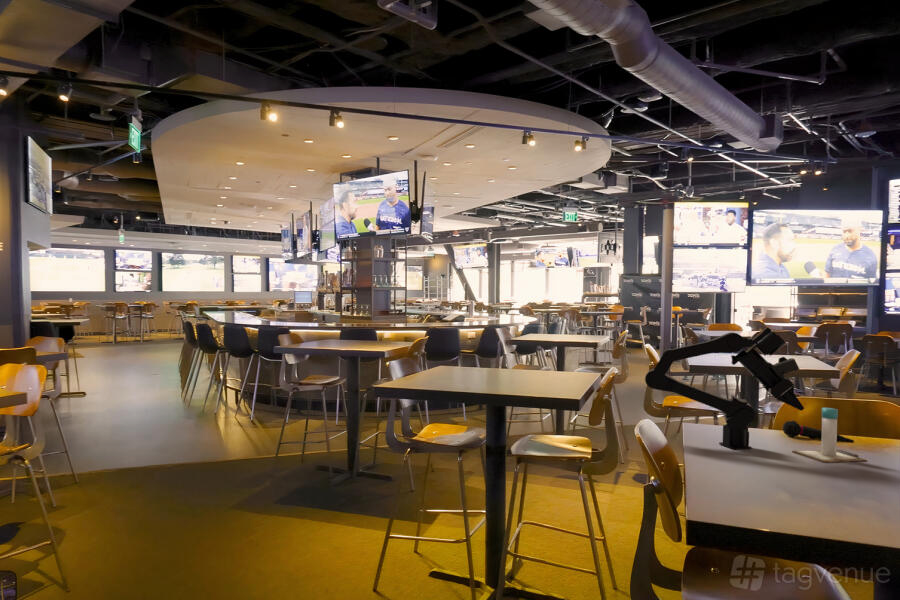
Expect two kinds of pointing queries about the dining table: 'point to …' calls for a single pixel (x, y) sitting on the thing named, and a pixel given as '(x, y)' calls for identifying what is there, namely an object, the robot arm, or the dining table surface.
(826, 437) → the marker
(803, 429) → the microphone
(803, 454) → the clipboard
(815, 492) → the dining table surface
